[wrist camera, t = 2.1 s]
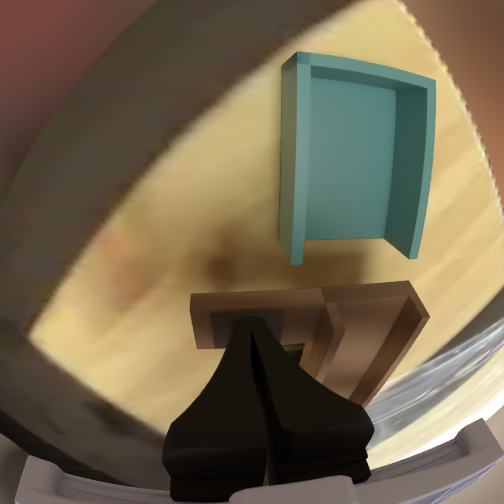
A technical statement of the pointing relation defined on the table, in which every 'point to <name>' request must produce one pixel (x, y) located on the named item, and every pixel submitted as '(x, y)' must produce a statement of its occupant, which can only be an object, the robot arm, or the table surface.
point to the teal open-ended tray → (354, 153)
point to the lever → (325, 329)
